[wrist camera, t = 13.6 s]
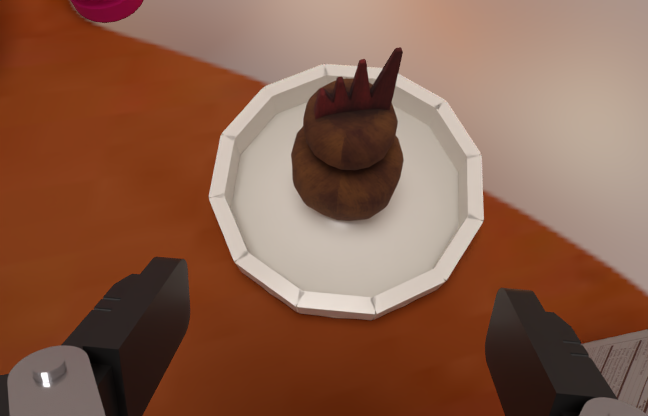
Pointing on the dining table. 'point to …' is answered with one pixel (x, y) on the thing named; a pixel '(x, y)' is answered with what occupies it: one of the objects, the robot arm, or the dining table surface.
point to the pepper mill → (106, 9)
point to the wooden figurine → (350, 145)
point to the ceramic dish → (336, 235)
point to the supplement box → (624, 366)
